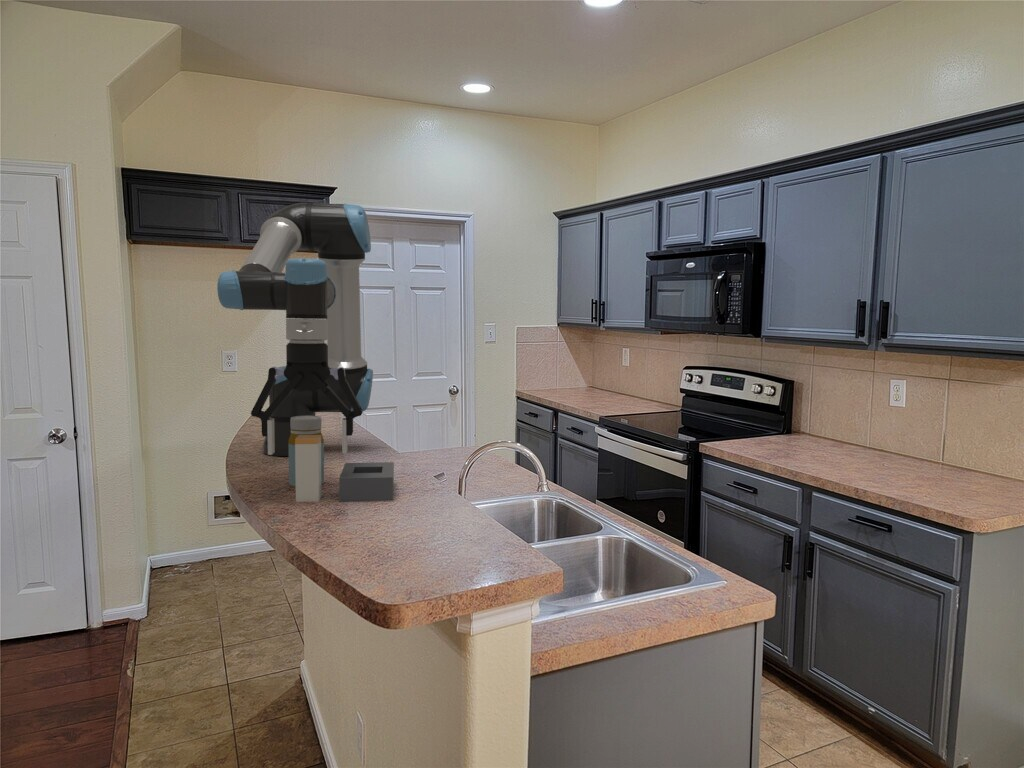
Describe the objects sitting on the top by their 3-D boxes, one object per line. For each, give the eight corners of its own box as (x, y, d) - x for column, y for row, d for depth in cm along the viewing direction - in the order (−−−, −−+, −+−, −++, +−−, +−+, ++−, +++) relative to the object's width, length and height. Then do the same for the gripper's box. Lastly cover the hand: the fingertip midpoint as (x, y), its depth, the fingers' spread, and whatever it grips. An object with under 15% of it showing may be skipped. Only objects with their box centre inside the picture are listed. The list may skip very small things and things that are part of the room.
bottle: (313, 493, 137) (313, 420, 136) (282, 491, 138) (281, 419, 137) (329, 485, 144) (329, 416, 142) (299, 483, 145) (299, 414, 144)
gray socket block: (345, 488, 141) (345, 462, 141) (393, 487, 143) (393, 462, 143) (339, 506, 128) (339, 478, 127) (392, 505, 129) (392, 477, 129)
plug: (299, 500, 131) (298, 435, 130) (321, 500, 132) (320, 435, 131) (295, 506, 127) (295, 439, 126) (318, 506, 128) (318, 438, 127)
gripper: (232, 341, 121) (235, 457, 123) (373, 343, 125) (373, 455, 127) (242, 340, 128) (244, 449, 130) (375, 342, 132) (375, 448, 135)
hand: (308, 453), depth 129 cm, fingers open, 13 cm apart
